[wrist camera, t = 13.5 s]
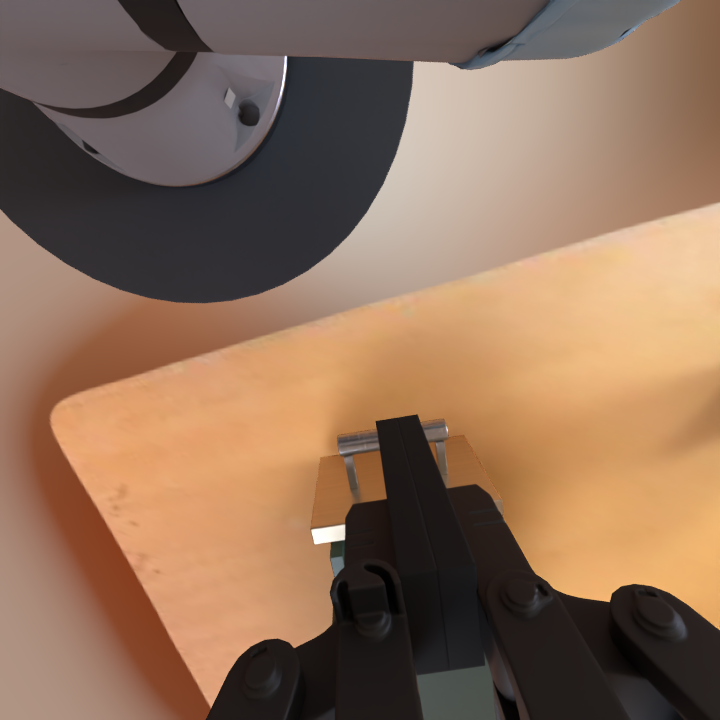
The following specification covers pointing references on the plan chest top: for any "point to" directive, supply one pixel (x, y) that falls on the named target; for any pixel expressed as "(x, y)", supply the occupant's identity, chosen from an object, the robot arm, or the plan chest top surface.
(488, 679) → the cabinet
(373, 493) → the drawer
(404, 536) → the robot arm
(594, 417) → the plan chest top surface
